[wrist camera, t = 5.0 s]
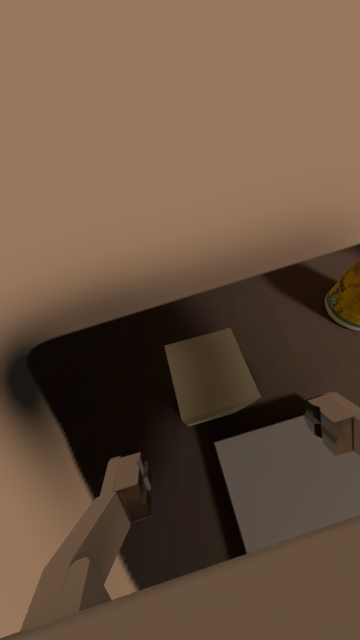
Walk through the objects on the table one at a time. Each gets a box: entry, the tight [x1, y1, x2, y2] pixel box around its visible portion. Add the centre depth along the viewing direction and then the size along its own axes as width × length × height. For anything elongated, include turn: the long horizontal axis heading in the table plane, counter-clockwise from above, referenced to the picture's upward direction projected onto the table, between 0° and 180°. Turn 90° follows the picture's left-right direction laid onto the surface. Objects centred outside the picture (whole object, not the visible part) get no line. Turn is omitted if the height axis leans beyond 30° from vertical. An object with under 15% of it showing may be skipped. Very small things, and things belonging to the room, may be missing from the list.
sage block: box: [165, 328, 261, 426], centre depth 14 cm, size 4×4×8 cm
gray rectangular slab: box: [213, 414, 360, 554], centre depth 13 cm, size 9×9×2 cm
